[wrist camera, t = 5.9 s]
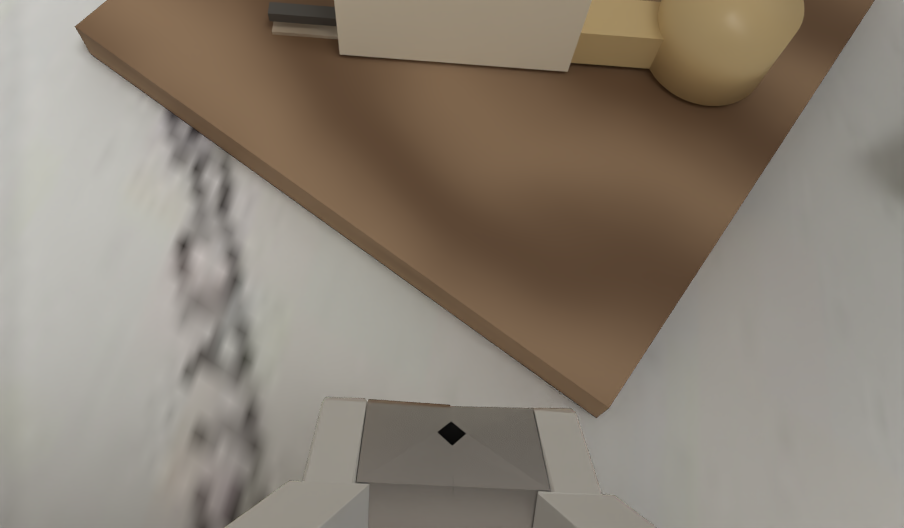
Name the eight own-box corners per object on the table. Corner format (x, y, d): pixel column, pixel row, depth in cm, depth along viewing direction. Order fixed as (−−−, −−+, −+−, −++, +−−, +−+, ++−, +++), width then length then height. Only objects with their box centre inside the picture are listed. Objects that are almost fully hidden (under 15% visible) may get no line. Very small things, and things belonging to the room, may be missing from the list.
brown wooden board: (447, -247, 35) (450, -284, 34) (874, -7, 32) (898, -37, 30) (90, 53, 28) (73, 23, 26) (596, 417, 24) (610, 406, 22)
